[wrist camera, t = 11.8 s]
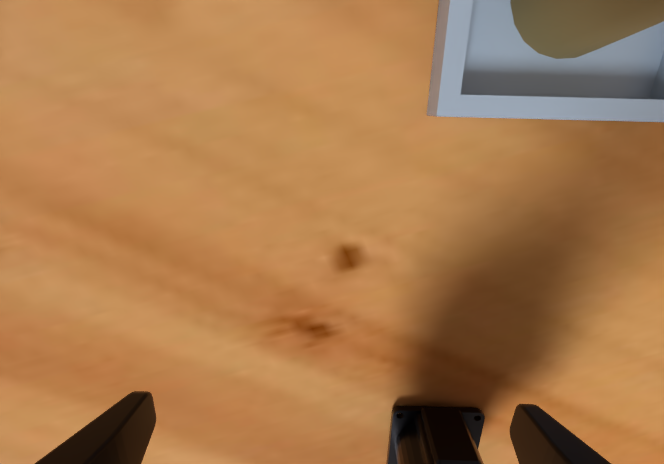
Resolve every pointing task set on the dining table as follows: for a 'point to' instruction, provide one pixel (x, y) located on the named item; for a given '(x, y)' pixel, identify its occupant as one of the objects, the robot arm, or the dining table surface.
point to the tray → (538, 71)
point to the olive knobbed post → (581, 23)
